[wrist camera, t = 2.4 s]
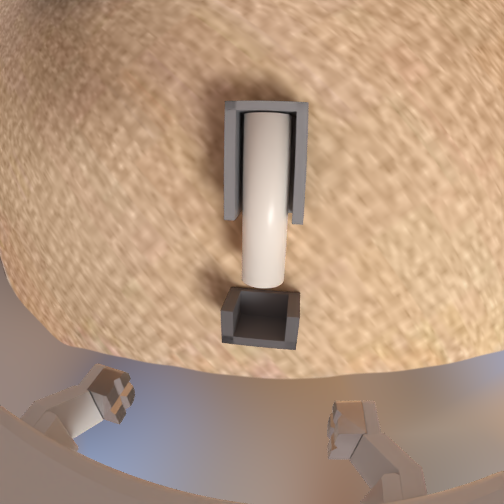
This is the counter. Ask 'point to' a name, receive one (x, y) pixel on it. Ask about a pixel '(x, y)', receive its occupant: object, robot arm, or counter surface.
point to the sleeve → (235, 153)
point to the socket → (261, 318)
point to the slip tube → (265, 197)
